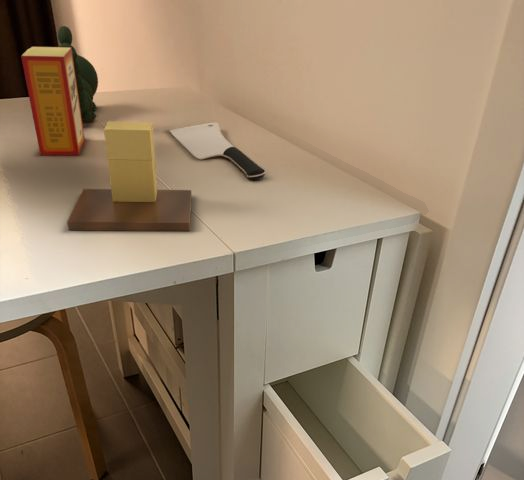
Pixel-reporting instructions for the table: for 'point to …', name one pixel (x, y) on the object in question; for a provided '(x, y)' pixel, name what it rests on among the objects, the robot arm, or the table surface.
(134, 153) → the block
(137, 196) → the base
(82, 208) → the butter board
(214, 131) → the kitchen cleaver
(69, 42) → the toy figurine
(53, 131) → the baking soda box
